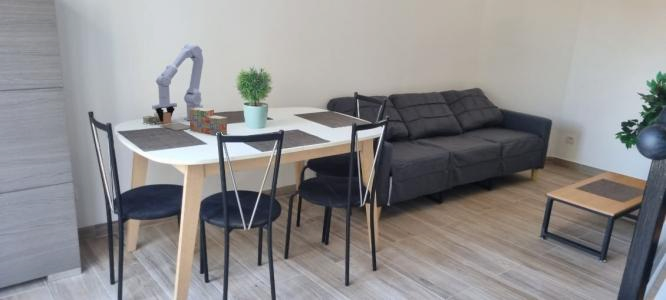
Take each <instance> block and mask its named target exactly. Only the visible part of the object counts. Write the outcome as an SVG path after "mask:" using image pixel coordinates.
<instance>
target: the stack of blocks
mask: <svg viewBox="0 0 666 300" xmlns="http://www.w3.org/2000/svg"><path fill="white" fill-rule="evenodd" d="M189 119H190V121H189V126H190V129H189V131H191V132H194V133H198V134H199V133H201V134H206V135H212V136H216V133H217V132H222V134H223V135H222V136H225V135H228V117H227V116H221V115H215V110H214V109H212V108H206V107H203V108H198V107H197V108H191V109H189Z"/></svg>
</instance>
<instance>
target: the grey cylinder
mask: <svg viewBox="0 0 666 300" xmlns="http://www.w3.org/2000/svg"><path fill="white" fill-rule="evenodd" d="M153 116H154V117H156V123H160V119H159V116H158V114H157V112H154V113H153Z"/></svg>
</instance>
